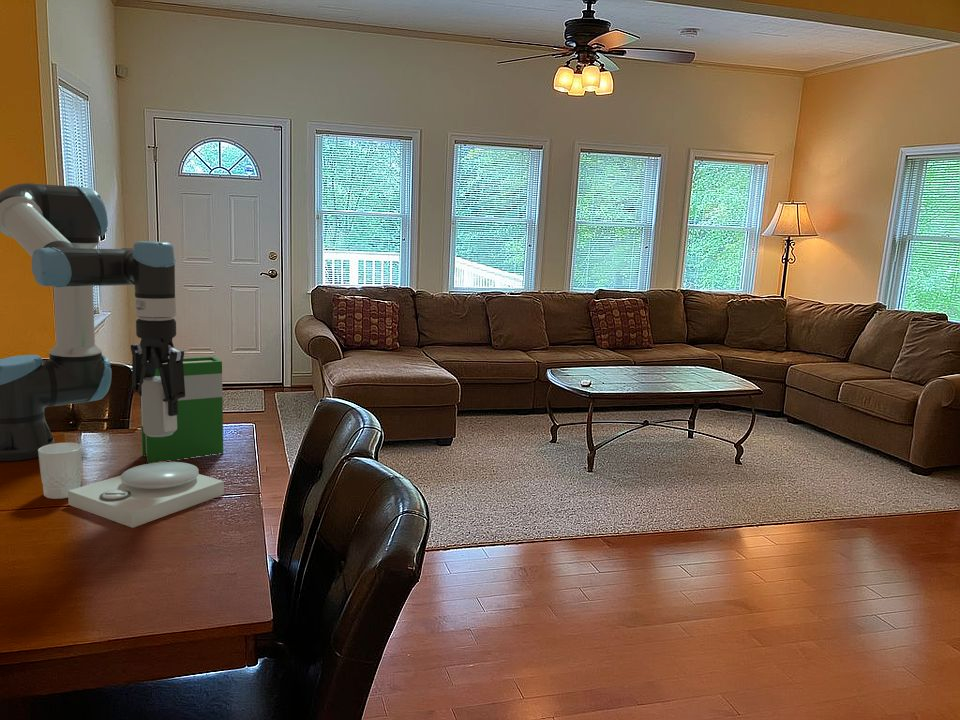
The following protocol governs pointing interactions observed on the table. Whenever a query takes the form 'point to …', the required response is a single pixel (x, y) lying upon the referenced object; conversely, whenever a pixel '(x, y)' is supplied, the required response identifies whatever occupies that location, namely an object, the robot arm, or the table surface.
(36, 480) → the table surface
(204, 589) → the table surface
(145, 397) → the beverage can
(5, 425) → the robot arm
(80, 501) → the kitchen scale
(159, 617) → the table surface
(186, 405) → the hardback book
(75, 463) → the white cup
